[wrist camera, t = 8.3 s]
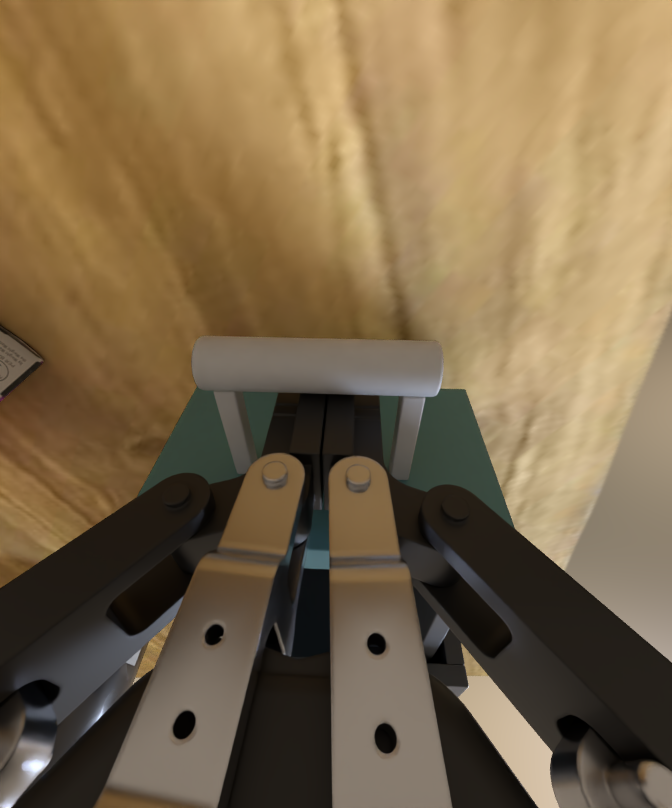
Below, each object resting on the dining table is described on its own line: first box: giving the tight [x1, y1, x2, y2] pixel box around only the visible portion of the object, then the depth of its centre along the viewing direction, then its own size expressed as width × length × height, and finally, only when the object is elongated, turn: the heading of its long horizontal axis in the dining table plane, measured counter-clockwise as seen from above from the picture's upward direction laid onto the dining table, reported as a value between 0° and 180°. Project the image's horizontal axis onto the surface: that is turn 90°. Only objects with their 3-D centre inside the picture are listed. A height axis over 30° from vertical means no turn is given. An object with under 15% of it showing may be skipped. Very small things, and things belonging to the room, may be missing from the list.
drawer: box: [137, 336, 515, 663], centre depth 16 cm, size 19×11×7 cm, turn 0°
